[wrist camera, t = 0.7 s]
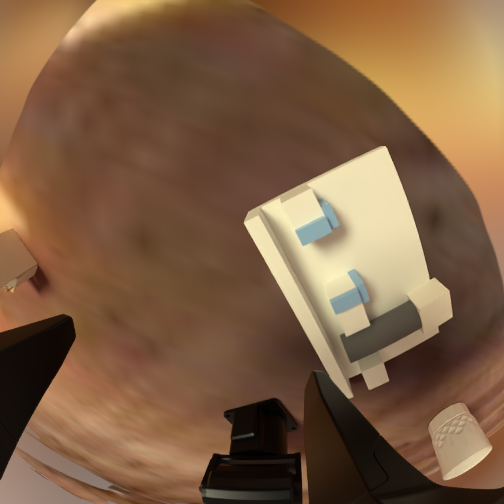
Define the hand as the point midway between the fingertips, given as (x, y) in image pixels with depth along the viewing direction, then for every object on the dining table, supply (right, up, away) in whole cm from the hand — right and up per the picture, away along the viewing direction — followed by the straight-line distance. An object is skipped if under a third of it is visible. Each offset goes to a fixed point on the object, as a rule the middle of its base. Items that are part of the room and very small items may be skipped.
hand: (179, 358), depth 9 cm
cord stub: (+14, -2, +12) cm, 19 cm away
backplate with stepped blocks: (+11, +1, +12) cm, 17 cm away
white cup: (+31, -21, +19) cm, 42 cm away
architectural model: (-23, +4, +15) cm, 28 cm away
